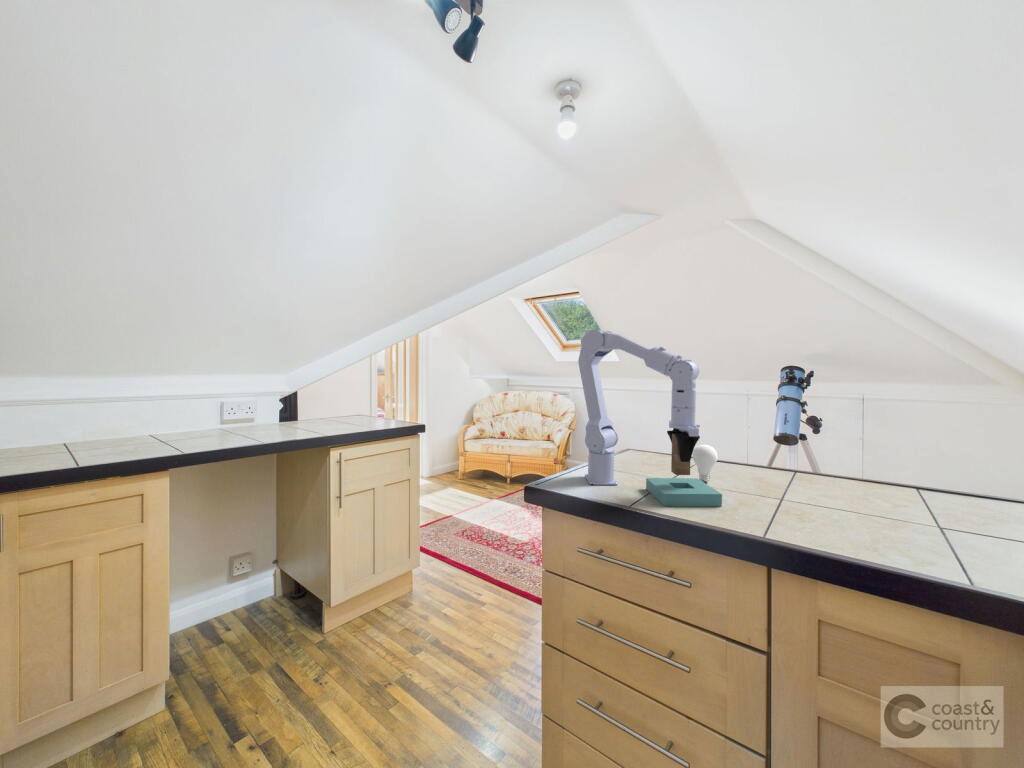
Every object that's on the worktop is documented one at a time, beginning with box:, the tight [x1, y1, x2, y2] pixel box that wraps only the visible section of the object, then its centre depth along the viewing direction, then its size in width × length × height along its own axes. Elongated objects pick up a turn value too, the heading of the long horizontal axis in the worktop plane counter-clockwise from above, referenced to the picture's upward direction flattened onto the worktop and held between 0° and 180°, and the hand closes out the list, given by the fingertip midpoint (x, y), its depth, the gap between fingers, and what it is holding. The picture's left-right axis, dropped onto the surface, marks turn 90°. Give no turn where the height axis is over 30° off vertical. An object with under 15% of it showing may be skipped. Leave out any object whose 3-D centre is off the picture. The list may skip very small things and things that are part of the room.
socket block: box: [645, 477, 723, 507], centre depth 109 cm, size 14×14×3 cm
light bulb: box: [692, 444, 719, 483], centre depth 122 cm, size 7×7×11 cm
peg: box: [670, 434, 691, 476], centre depth 108 cm, size 4×4×10 cm
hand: (682, 459), depth 108 cm, fingers closed on peg, 3 cm apart
